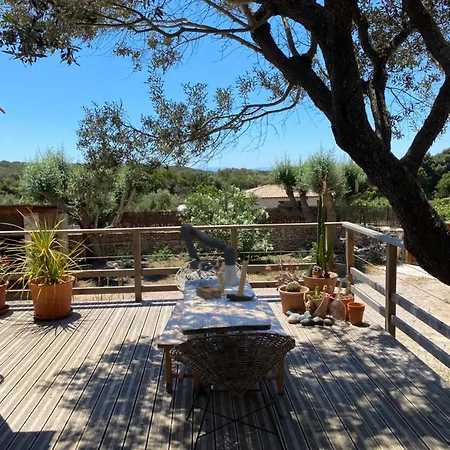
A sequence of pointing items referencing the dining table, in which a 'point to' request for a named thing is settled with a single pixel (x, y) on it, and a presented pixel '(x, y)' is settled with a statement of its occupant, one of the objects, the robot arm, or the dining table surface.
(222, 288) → the maple key
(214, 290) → the walnut toolbox
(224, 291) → the terracotta tile
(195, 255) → the robot arm
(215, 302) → the dining table surface
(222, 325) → the dining table surface
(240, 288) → the hammer
